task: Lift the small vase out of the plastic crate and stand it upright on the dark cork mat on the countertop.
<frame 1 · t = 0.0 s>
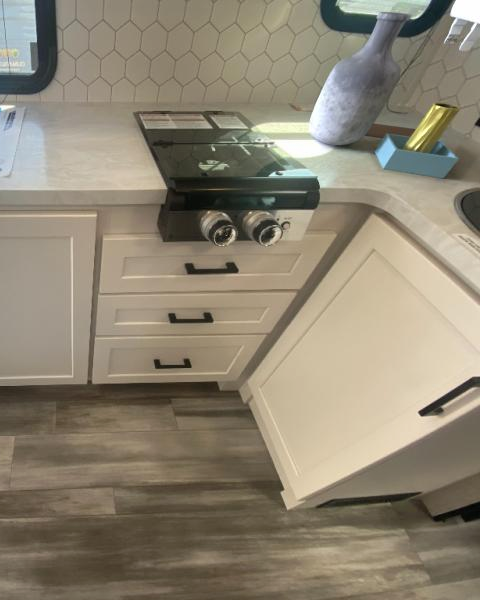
hand: (455, 47, 76), 25 cm above the table, tool pointing down, fingers open, 8 cm apart
vase: (406, 164, 93), resting in crate
vase 2: (329, 142, 104), on the table
mat: (386, 132, 111), on the table
crate: (406, 164, 93), on the table
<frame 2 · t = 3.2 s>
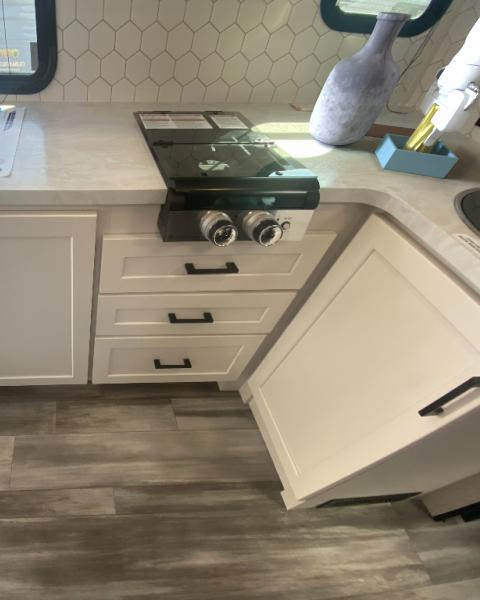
hand: (422, 140, 89), 6 cm above the table, tool pointing down, fingers closed on vase, 5 cm apart
vase: (406, 164, 93), resting in crate, touching gripper
everything else where it was.
when the fingers open (6 cm above the table, at t = 11.7 s): vase stays where it is, resting on mat.
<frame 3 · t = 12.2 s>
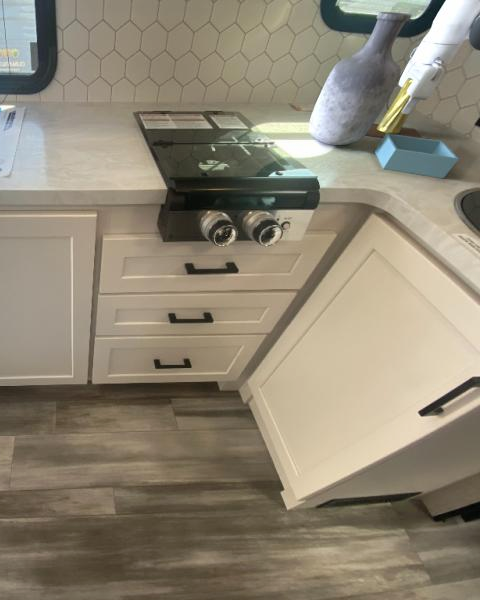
hand: (400, 109, 107), 7 cm above the table, tool pointing down, fingers open, 8 cm apart
vase: (386, 131, 111), resting on mat
everything else where it was.
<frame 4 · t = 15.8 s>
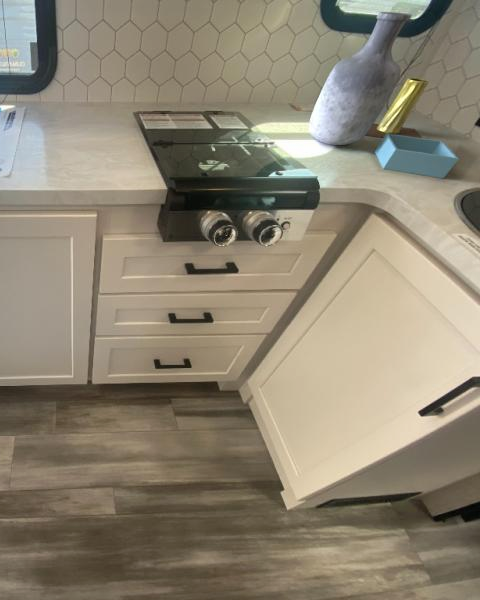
nothing on the table moved.
at the end: vase inside the target area on the mat (0.0 cm from its centre), point 0.2 cm above the mat's base; vase tilted 0°; the gripper is holding nothing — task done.
